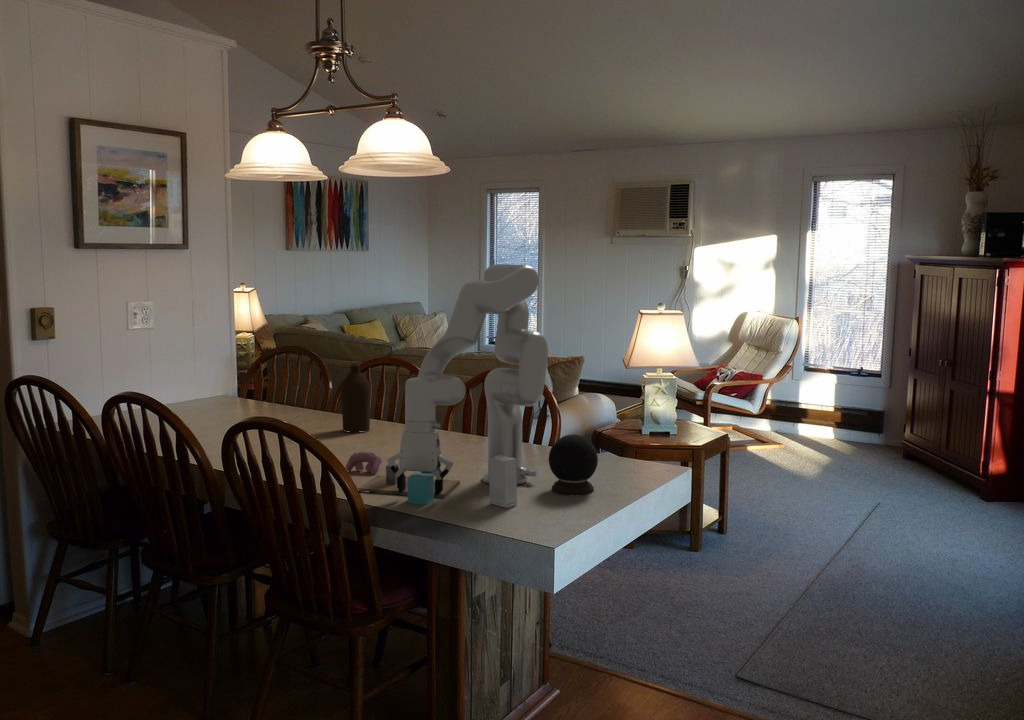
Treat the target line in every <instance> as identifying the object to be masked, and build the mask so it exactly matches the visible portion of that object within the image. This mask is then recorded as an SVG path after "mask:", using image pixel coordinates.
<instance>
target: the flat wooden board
mask: <svg viewBox="0 0 1024 720" xmlns="http://www.w3.org/2000/svg"><path fill="white" fill-rule="evenodd" d="M420 473H427V474H433V473H432V472H420ZM408 477H409V476H406V488H405V490H404V491H403V492H401V493H399V488H397V484H396V485H392V484H386V475H381V474H378V475H376V476H375V477H373V478H371V479H370V480H368V481H367V482H365V483H364V484H363V485H361V486H359V487H357V490H358V489H359V491H369V492H376V493H375V494H380V493H389V494H388V495H394V494H399V495H398V496H408ZM435 480H436V478H434V498H437V499H445V498H446V497H447V496H449V495H450V494H451V493H452V492H453V491H454V490H455V489H456V488H458V487H459V486H460V485H461V480H455V479H443V490H442V492H441V493H440V494H439V495H435ZM459 484H460V485H459ZM458 485H459V486H458Z"/></svg>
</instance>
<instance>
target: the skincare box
mask: <svg viewBox="0 0 1024 720" xmlns="http://www.w3.org/2000/svg"><path fill="white" fill-rule="evenodd" d="M488 485H489V503H490V504H491V505H494V506H498V507H500V508H501V507H502V508H505V509H508V508H512V507H515V506H518V489H517V487H518V485H517V479H516V459H515V458H510V457H506V456H501V455H497V456H494V457H490V458H489V484H488Z"/></svg>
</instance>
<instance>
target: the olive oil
mask: <svg viewBox="0 0 1024 720" xmlns="http://www.w3.org/2000/svg"><path fill="white" fill-rule="evenodd" d="M360 363H361V362H360V361H356V360H355V361H353V360H352V361H350V365H349V367H350V372H349V374H348V375H347V376H346V377H345V378H344V379H343V381H342V382H341V385H340V401H341V413H342V414H341V415H342V431H343V430H345V431H350V432H359V431H366V430H369V431H370V427H371V426H370V424H371V422H370V421H371V420H370V419H371V418H370V417H371V396H372V395H371V392H372V388H371V384H370V382H369V380H368V379H367V378H366V377H365V376H364V375H363V374H362V372H361V365H360Z"/></svg>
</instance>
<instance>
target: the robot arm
mask: <svg viewBox="0 0 1024 720" xmlns="http://www.w3.org/2000/svg"><path fill="white" fill-rule="evenodd" d="M538 285H539V275H538V271H536V269H535V268H534V267H532V266H530V265H528V264H511V263H510V264H509V263H507V264H505V263H504V264H501V263H500V264H493V265H490V266H488V267H487V268H486V269H485V270H484V272H483V280H472V281H468V282H466V283H464V284H463V285H462V286H461V288H460V291H459V294H458V296H457V299H456V302H455V305H454V309H453V311H452V315H451V317H450V320H449V322H448V325H447V328H446V331H445V333H444V334H443V335H442V336H441V337H440V338H439V339H437V341H436V342H435V343H434V345H433V346H432V347H431V348H430V349H429V351H428V352H427V353H426V355H425V356H424V358H423V359H422V360H423V361H422V362H421V365H420V369H419V371H418V374H417V377H410V378H408V379H407V380H406V381H405V384H404V385H405V386H404V387H405V388H404V392H405V393H404V403H405V404H404V413H405V414H404V417H405V418H404V422H405V423H404V426H405V427H404V428H405V429H404V430H402V433H401V441H400V446H399V447H400V448H399V453H397V454H394V455H392V456H391V457H388V458H387V463H388V464H389V466H390V467H391V470H392V471H393V472H394V473H395V475H396V477H397V488H399V493H401V492H403V491H404V490H405V488H406V477H407V476H406V475H405V472H406V471H408V472H409V471H410V472H418V473H421V472H432V473H433V474H434V478H435V479H436V480H435V495H439V494H440V493H441V492H442V490H443V480H444V478H445V477H446V476H447V475H448V474H449V473H450V472H451V469H452V467H453V465H454V462H453V461H452V460H450V459H448V458H447V457H445V456H443V455H442V448H441V447H442V445H441V438H440V434H439V431H437V429H440V428H441V422H440V423H439V422H437V421H436V420H437V419H436V406H454V405H457V404H459V403H460V402H462V400H463V399H464V398H465V396H466V393H467V392H466V391H467V390H466V389H467V388H466V385H465V383H464V381H462V379H460V378H459V377H456V376H453V375H450V374H449V375H447V374H443V373H444V371H445V369H446V367H447V365H448V363H449V362H450V361H451V360H452V359H453V358H455V357H456V356H458V355H460V354H461V353H463V352H465V351H467V350H470V348H473V347H474V346H475V345H476V344H477V342H478V339H479V336H480V334H481V330H482V328H483V326H484V321H485V319H486V316H487V315H488V314H489V315H497V323H496V332H495V341H494V355H495V357H496V359H497V360H499V361H500V362H503V363H507V364H511V365H518V369H517V368H510V367H497V368H494V369H492V370H490V371H489V372H488V374H487V375H486V377H485V379H484V387H483V388H484V394H485V399H486V406H487V472H486V473H484V474H483V475H482V476H481V477H482V481H483V482H484V483H486V484H488V485H489V458H490V457H494V456H497V455H501V456H506V457H510V458H515V459H516V479H517V486H518V485H521V484H524V483H526V482H527V481H528V477H535V478H536V477H538V470H537V469H535V467H534V468H529V467H526V466H525V465H526V464H525V462H523V415H522V411H521V408H520V406H522V407H532V406H535V405H536V404H538V403H539V402H540V400H541V399H542V396H543V394H544V388H545V383H546V375H547V367H548V359H549V346H548V342H547V339H546V338H545V336H544V335H543V334H542V333H540V332H538V331H534V330H529V319H530V313H529V312H530V311H529V305H528V303H527V299H529V298H531V296H532V295H534V293H535V292H536V291H537V288H538V287H539V286H538ZM397 460H398V461H399V462H398V466H399V467H398V466H397V465H396V464H397V463H396V461H397ZM442 464H443V465H444V466H445V467H444V469H443V470H442V469H441V467H442Z"/></svg>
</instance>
